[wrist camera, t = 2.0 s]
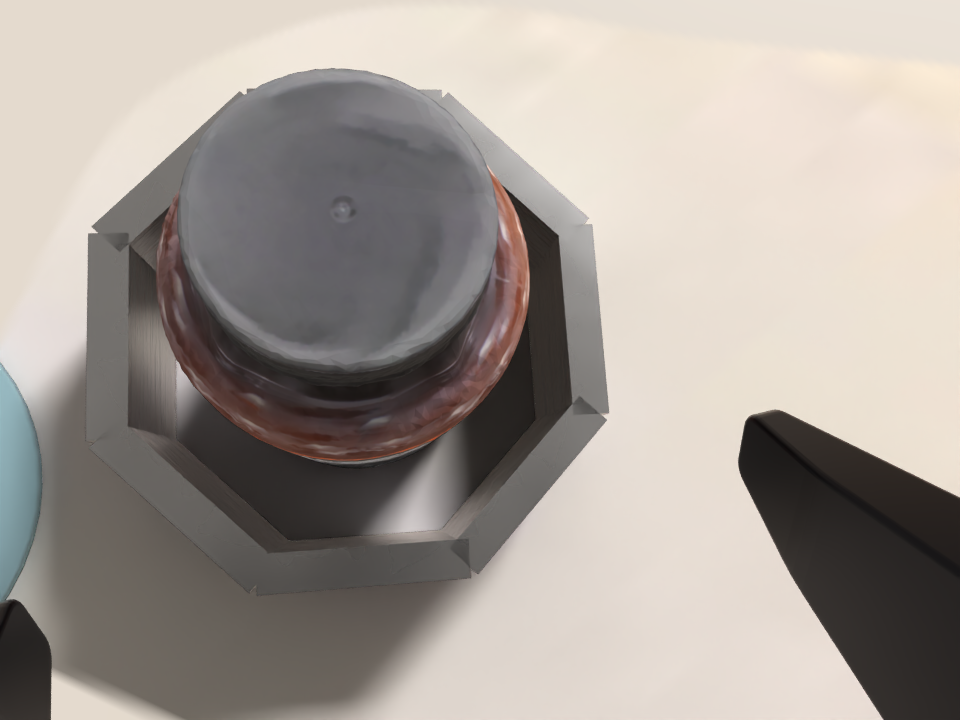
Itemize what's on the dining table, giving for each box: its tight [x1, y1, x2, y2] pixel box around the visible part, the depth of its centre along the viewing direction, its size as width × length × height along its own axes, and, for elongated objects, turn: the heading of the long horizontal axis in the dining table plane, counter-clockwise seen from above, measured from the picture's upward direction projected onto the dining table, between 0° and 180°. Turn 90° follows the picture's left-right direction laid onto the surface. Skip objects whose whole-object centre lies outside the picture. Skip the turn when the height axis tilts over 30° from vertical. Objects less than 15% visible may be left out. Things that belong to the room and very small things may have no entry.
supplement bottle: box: [156, 68, 530, 468], centre depth 15 cm, size 6×6×11 cm
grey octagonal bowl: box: [85, 89, 609, 596], centre depth 19 cm, size 11×11×4 cm
